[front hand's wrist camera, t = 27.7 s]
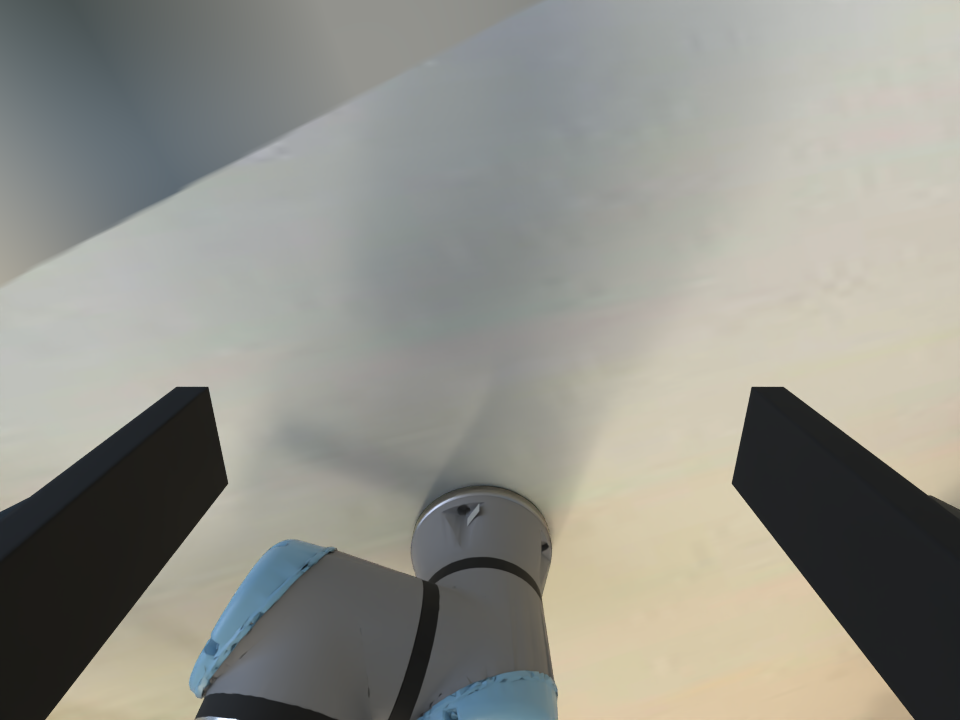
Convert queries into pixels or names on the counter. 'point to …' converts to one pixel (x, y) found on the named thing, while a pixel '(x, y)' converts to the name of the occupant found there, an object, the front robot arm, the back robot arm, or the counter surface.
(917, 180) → the counter surface
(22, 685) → the front robot arm
